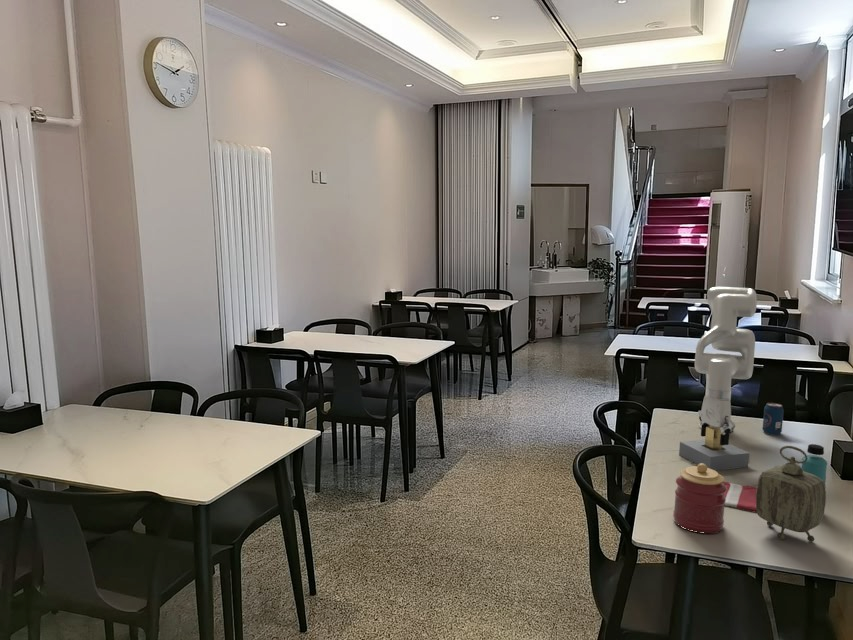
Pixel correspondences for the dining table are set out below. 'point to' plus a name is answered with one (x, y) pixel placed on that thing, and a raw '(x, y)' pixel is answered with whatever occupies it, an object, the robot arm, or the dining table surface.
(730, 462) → the well block
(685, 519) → the canister
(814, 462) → the beverage bottle
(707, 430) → the wooden square peg
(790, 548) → the dining table surface
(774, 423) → the soda can
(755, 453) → the dining table surface
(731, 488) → the dish towel
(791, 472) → the tabletop clock
